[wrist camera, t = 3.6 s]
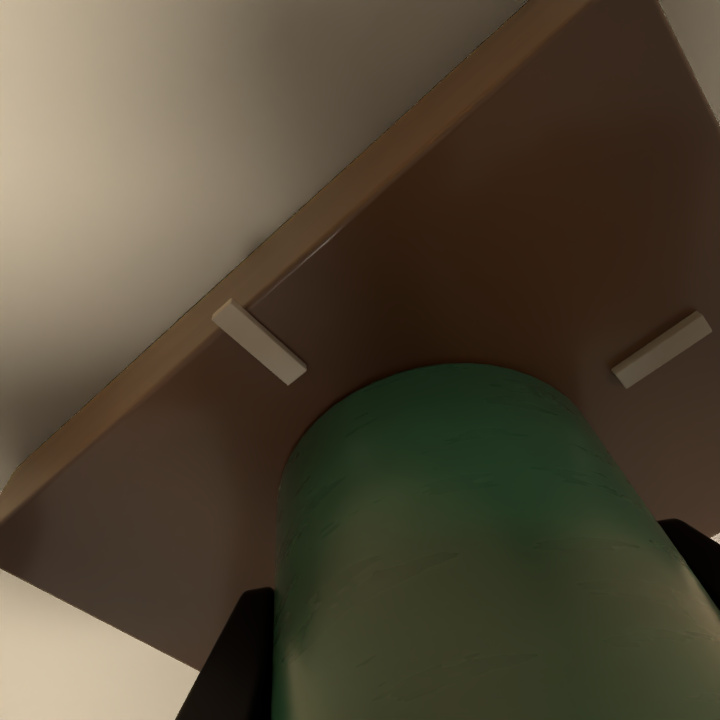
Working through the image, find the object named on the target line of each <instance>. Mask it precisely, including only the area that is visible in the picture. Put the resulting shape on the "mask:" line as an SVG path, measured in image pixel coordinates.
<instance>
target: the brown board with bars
mask: <svg viewBox="0 0 720 720" xmlns="http://www.w3.org/2000/svg"><path fill="white" fill-rule="evenodd" d="M449 363H475V364H489V365H494V366H499V367H504V368H509V369H512V370H515V371H518V372H521V373H524V374H527V375H530V376H533V377H535V378H537V379H539V380H541V381H543V382H545V383H547V384H549V385H551V386H552V387H553V388H555V389H556V390H558V391H559V392H560V393H562V394H563V395H565V396H566V397H567V398H568V399H569V400H570V401H571V402H572V403H573V404H574V405H575V406H576V407H577V408H578V409H579V410H580V412H581V413H582V414H583V416H584V417H585V419H586V420H587V422H588V423H589V424H590V426H591V427H592V429H593V430H594V432H595V433H596V434H597V436H598V437H599V439H600V440H601V442H602V443H603V445H604V446H605V447H606V449H607V450H608V452H609V453H610V455H611V456H612V457H613V459H614V460H615V462H616V463H617V465H618V466H619V467H620V469H621V470H622V472H623V473H624V475H625V476H626V477H627V479H628V480H629V482H630V483H631V485H632V486H633V487H634V489H635V490H636V492H637V493H638V495H639V496H640V497H641V499H642V500H643V502H644V503H645V505H646V506H647V507H648V509H649V510H650V512H651V513H652V515H653V516H654V517H655V519H656V520H657V521H658V520H664V519H670V518H676V519H679V520H682V521H684V522H685V523H687V524H689V525H690V526H692V527H693V528H695V529H696V530H698V531H699V532H701V533H703V534H704V535H706V536H707V537H709V538H711V537H713V536H714V535H716V534H718V533H720V126H719V124H718V122H717V120H716V118H715V116H714V114H713V112H712V110H711V108H710V106H709V104H708V102H707V100H706V98H705V95H704V93H703V91H702V89H701V87H700V85H699V83H698V81H697V79H696V77H695V75H694V73H693V71H692V69H691V67H690V65H689V63H688V61H687V59H686V57H685V55H684V53H683V51H682V49H681V47H680V45H679V43H678V41H677V39H676V37H675V35H674V32H673V30H672V28H671V26H670V24H669V22H668V20H667V18H666V16H665V14H664V12H663V10H662V8H661V6H660V4H659V2H658V0H529V1H528V2H527V3H526V4H525V5H524V6H523V7H522V8H521V9H519V10H518V11H517V12H516V13H515V14H514V15H513V16H512V17H511V18H510V19H508V20H507V21H506V22H505V23H504V24H503V25H502V26H501V27H500V28H499V29H498V30H496V31H495V32H494V33H493V34H492V35H491V36H490V37H489V38H488V39H487V40H485V41H484V42H483V43H482V44H481V45H480V46H479V47H478V48H477V49H476V50H474V51H473V52H472V53H471V54H470V55H469V56H468V57H467V58H466V59H465V60H464V61H462V62H461V63H460V64H459V65H458V66H457V67H456V68H455V69H454V70H453V71H451V72H450V73H449V74H448V75H447V76H446V77H445V78H444V79H443V80H442V81H440V82H439V83H438V84H437V85H436V86H435V87H434V88H433V89H432V90H431V91H430V92H428V93H427V94H426V95H425V96H424V97H423V98H422V99H421V100H420V101H419V102H417V103H416V104H415V105H414V106H413V107H412V108H411V109H410V110H409V111H408V112H406V113H405V114H404V115H403V116H402V117H401V118H400V119H399V120H398V121H397V122H396V123H394V124H393V125H392V126H391V127H390V128H389V129H388V130H387V131H386V132H385V133H383V134H382V135H381V136H380V137H379V138H378V139H377V140H376V141H375V142H374V143H372V144H371V145H370V146H369V147H368V148H367V149H366V150H365V151H364V152H363V153H362V154H360V155H359V156H358V157H357V158H356V159H355V160H354V161H353V162H352V163H351V164H349V165H348V166H347V167H346V168H345V169H344V170H343V171H342V172H341V173H340V174H338V175H337V176H336V177H335V178H334V179H333V180H332V181H331V182H330V183H329V184H328V185H326V186H325V187H324V188H323V189H322V190H321V191H320V192H319V193H318V194H317V195H315V196H314V197H313V198H312V199H311V200H310V201H309V202H308V203H307V204H306V205H305V206H303V207H302V208H301V209H300V210H299V211H298V212H297V213H296V214H295V215H294V216H292V217H291V218H290V219H289V220H288V221H287V222H286V223H285V224H284V225H283V226H281V227H280V228H279V229H278V230H277V231H276V232H275V233H274V234H273V235H272V236H271V237H269V238H268V239H267V240H266V241H265V242H264V243H263V244H262V245H261V246H260V247H258V248H257V249H256V250H255V251H254V252H253V253H252V254H251V255H250V256H249V257H247V258H246V259H245V260H244V261H243V262H242V263H241V264H240V265H239V266H238V267H237V268H235V269H234V270H233V271H232V272H231V273H230V274H229V275H228V276H227V277H226V278H224V279H223V280H222V281H221V282H220V283H219V284H218V285H217V286H216V287H215V288H213V289H212V290H211V291H210V292H209V293H208V294H207V295H206V296H205V297H204V298H203V299H201V300H200V301H199V302H198V303H197V304H196V305H195V306H194V307H193V308H192V309H190V310H189V311H188V312H187V313H186V314H185V315H184V316H183V317H182V318H181V319H179V320H178V321H177V322H176V323H175V324H174V325H173V326H172V327H171V328H170V329H169V330H167V331H166V332H165V333H164V334H163V335H162V336H161V337H160V338H159V339H158V340H156V341H155V342H154V343H153V344H152V345H151V346H150V347H149V348H148V349H147V350H145V351H144V352H143V353H142V354H141V355H140V356H139V357H138V358H137V359H136V360H135V361H133V362H132V363H131V364H130V365H129V366H128V367H127V368H126V369H125V370H124V371H122V372H121V373H120V374H119V375H118V376H117V377H116V378H115V379H114V380H113V381H112V382H110V383H109V384H108V385H107V386H106V387H105V388H104V389H103V390H102V391H101V392H99V393H98V394H97V395H96V396H95V397H94V398H93V399H92V400H91V401H90V402H88V403H87V404H86V405H85V406H84V407H83V408H82V409H81V410H80V411H79V412H78V413H76V414H75V415H74V416H73V417H72V418H71V419H70V420H69V421H68V422H67V423H65V424H64V425H63V426H62V427H61V428H60V429H59V430H58V431H57V432H56V433H54V434H53V435H52V436H51V437H50V438H49V439H48V440H47V441H46V442H45V443H44V444H42V445H41V446H40V447H39V448H38V449H37V450H36V451H35V452H34V453H33V454H31V455H30V456H29V457H28V458H27V459H26V460H25V461H24V462H23V463H22V464H20V465H19V466H18V467H17V468H16V469H15V471H14V472H13V474H12V476H11V478H10V479H9V481H8V483H7V484H6V486H5V488H4V489H3V491H2V493H1V495H0V569H2V570H4V571H6V572H8V573H10V574H12V575H14V576H16V577H18V578H20V579H22V580H24V581H26V582H27V583H29V584H31V585H33V586H35V587H37V588H39V589H41V590H43V591H45V592H47V593H49V594H51V595H53V596H55V597H57V598H58V599H60V600H62V601H64V602H66V603H68V604H70V605H72V606H74V607H76V608H78V609H80V610H82V611H84V612H86V613H88V614H89V615H91V616H93V617H95V618H97V619H99V620H101V621H103V622H105V623H107V624H109V625H111V626H113V627H115V628H117V629H119V630H121V631H122V632H124V633H126V634H128V635H130V636H132V637H134V638H136V639H138V640H140V641H142V642H144V643H146V644H148V645H150V646H152V647H153V648H155V649H157V650H159V651H161V652H163V653H165V654H167V655H169V656H171V657H173V658H175V659H177V660H179V661H181V662H183V663H184V664H186V665H188V666H190V667H192V668H194V669H196V670H198V671H200V672H201V670H202V668H203V666H204V664H205V662H206V660H207V658H208V657H209V655H210V653H211V651H212V649H213V647H214V645H215V643H216V641H217V640H218V638H219V636H220V634H221V632H222V630H223V628H224V626H225V624H226V623H227V621H228V619H229V617H230V615H231V613H232V611H233V609H234V607H235V606H236V604H237V602H238V600H239V598H240V596H241V595H242V594H243V593H244V592H245V591H247V590H251V589H257V588H263V587H271V588H273V590H274V589H275V553H276V517H277V498H278V488H279V485H280V481H281V477H282V474H283V471H284V468H285V466H286V464H287V462H288V460H289V458H290V455H291V454H292V452H293V451H294V449H295V448H296V446H297V444H298V443H299V441H300V440H301V438H302V437H303V436H304V435H305V433H306V432H307V431H308V430H309V429H310V428H311V427H312V425H313V424H314V423H315V422H316V421H317V420H318V419H319V418H320V417H321V416H323V415H324V414H325V413H326V412H327V411H328V410H329V409H331V408H332V407H333V406H334V405H336V404H337V403H339V402H340V401H342V400H343V399H344V398H346V397H347V396H349V395H350V394H352V393H354V392H356V391H357V390H359V389H361V388H363V387H365V386H367V385H369V384H371V383H373V382H375V381H378V380H380V379H383V378H385V377H388V376H391V375H393V374H396V373H400V372H403V371H407V370H411V369H415V368H418V367H425V366H431V365H438V364H449Z"/></svg>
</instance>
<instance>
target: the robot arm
mask: <svg viewBox="0 0 720 720" xmlns="http://www.w3.org/2000/svg"><path fill="white" fill-rule="evenodd" d="M657 522H658V523H659V525H660V526H661V527H662V529H663V530H664V532H665V533H666V535H667V536H668V537H669V539H670V540H671V542H672V543H673V545H674V546H675V547H676V549H677V550H678V552H679V553H680V555H681V556H682V558H683V559H684V560H685V562H686V563H687V565H688V566H689V568H690V569H691V570H692V572H693V573H694V575H695V576H696V578H697V579H698V580H699V582H700V583H701V585H702V586H703V588H704V589H705V590H706V592H707V593H708V595H709V596H710V598H711V599H712V600H713V602H714V603H715V605H716V606H717V608H718V609H719V610H720V544H718V543H717V542H715V541H714V540H712V539H710V538H709V537H707V536H706V535H704V534H703V533H701V532H699V531H698V530H696V529H695V528H693V527H692V526H690V525H689V524H687V523H685V522H684V521H682V520H679V519H676V518H670V519H664V520H658V521H657ZM273 625H274V590H273V588H271V587H263V588H257V589H251V590H247V591H245V592H244V593H243V594H242V595H241V596H240V598H239V600H238V602H237V604H236V606H235V607H234V609H233V611H232V613H231V615H230V617H229V619H228V621H227V623H226V624H225V626H224V628H223V630H222V632H221V634H220V636H219V638H218V640H217V641H216V643H215V645H214V647H213V649H212V651H211V653H210V655H209V657H208V658H207V660H206V662H205V664H204V666H203V668H202V670H201V672H200V673H199V675H198V677H197V679H196V681H195V683H194V685H193V687H192V689H191V690H190V692H189V694H188V696H187V698H186V700H185V702H184V704H183V706H182V707H181V709H180V711H179V713H178V715H177V717H176V719H175V720H271V696H272V660H273Z"/></svg>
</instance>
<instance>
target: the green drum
mask: <svg viewBox="0 0 720 720" xmlns="http://www.w3.org/2000/svg"><path fill="white" fill-rule="evenodd" d="M271 720H720V610H719V609H718V608H717V606H716V605H715V603H714V602H713V600H712V599H711V598H710V596H709V595H708V593H707V592H706V590H705V589H704V588H703V586H702V585H701V583H700V582H699V580H698V579H697V578H696V576H695V575H694V573H693V572H692V570H691V569H690V568H689V566H688V565H687V563H686V562H685V560H684V559H683V558H682V556H681V555H680V553H679V552H678V550H677V549H676V547H675V546H674V545H673V543H672V542H671V540H670V539H669V537H668V536H667V535H666V533H665V532H664V530H663V529H662V527H661V526H660V525H659V523H658V522H657V520H656V519H655V517H654V516H653V515H652V513H651V512H650V510H649V509H648V507H647V506H646V505H645V503H644V502H643V500H642V499H641V497H640V496H639V495H638V493H637V492H636V490H635V489H634V487H633V486H632V485H631V483H630V482H629V480H628V479H627V477H626V476H625V475H624V473H623V472H622V470H621V469H620V467H619V466H618V465H617V463H616V462H615V460H614V459H613V457H612V456H611V455H610V453H609V452H608V450H607V449H606V447H605V446H604V445H603V443H602V442H601V440H600V439H599V437H598V436H597V434H596V433H595V432H594V430H593V429H592V427H591V426H590V424H589V423H588V422H587V420H586V419H585V417H584V416H583V414H582V413H581V412H580V410H579V409H578V408H577V407H576V406H575V405H574V404H573V403H572V402H571V401H570V400H569V399H568V398H567V397H566V396H565V395H563V394H562V393H560V392H559V391H558V390H556V389H555V388H553V387H552V386H551V385H549V384H547V383H545V382H543V381H541V380H539V379H537V378H535V377H533V376H530V375H527V374H524V373H521V372H518V371H515V370H512V369H509V368H504V367H499V366H494V365H489V364H475V363H449V364H438V365H431V366H425V367H418V368H415V369H411V370H407V371H403V372H400V373H396V374H393V375H391V376H388V377H385V378H383V379H380V380H378V381H375V382H373V383H371V384H369V385H367V386H365V387H363V388H361V389H359V390H357V391H356V392H354V393H352V394H350V395H349V396H347V397H346V398H344V399H343V400H342V401H340V402H339V403H337V404H336V405H334V406H333V407H332V408H331V409H329V410H328V411H327V412H326V413H325V414H324V415H323V416H321V417H320V418H319V419H318V420H317V421H316V422H315V423H314V424H313V425H312V427H311V428H310V429H309V430H308V431H307V432H306V433H305V435H304V436H303V437H302V438H301V440H300V441H299V443H298V444H297V446H296V448H295V449H294V451H293V452H292V454H291V455H290V458H289V460H288V462H287V464H286V466H285V468H284V471H283V474H282V477H281V481H280V485H279V488H278V498H277V517H276V553H275V589H274V625H273V660H272V696H271Z"/></svg>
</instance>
